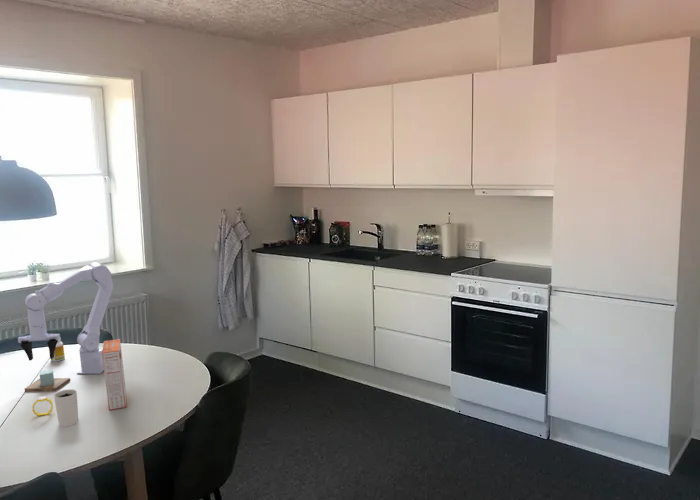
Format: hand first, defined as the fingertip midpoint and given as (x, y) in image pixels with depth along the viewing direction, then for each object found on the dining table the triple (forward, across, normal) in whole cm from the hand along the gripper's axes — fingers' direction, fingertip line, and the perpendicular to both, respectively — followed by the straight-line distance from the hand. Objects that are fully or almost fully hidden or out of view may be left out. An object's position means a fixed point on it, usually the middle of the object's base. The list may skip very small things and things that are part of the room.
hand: (41, 358), depth 225 cm
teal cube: (+8, -3, +5) cm, 10 cm away
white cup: (+10, -21, +41) cm, 47 cm away
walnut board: (+9, -3, +5) cm, 11 cm away
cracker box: (+10, -33, +27) cm, 44 cm away
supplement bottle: (+10, +4, -27) cm, 29 cm away
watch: (+10, -10, +32) cm, 35 cm away
